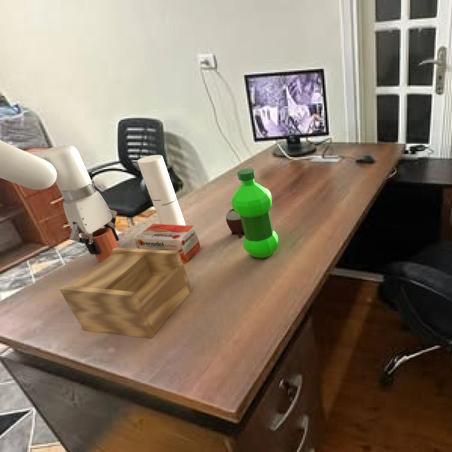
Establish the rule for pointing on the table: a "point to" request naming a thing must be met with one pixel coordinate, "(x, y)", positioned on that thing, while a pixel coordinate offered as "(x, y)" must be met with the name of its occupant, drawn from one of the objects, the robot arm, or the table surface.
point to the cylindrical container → (161, 190)
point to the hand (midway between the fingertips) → (105, 246)
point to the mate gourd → (234, 222)
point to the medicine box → (170, 239)
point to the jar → (104, 242)
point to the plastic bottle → (255, 215)
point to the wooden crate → (129, 292)
